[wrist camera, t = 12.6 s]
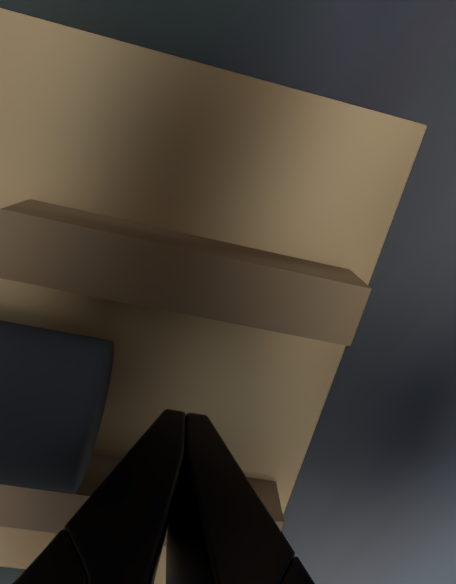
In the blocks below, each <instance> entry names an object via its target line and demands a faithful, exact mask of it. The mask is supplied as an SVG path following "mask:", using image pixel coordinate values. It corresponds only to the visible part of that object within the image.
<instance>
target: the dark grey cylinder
mask: <svg viewBox="0 0 456 584" xmlns="http://www.w3.org/2000/svg"><path fill="white" fill-rule="evenodd" d="M113 357H114V344H113V341H111V340H106V339H100V338H95V337H89V336H84V335H78V334H73V333H67V332H62V331H56V330H51V329H45V328H40V327H34V326H29V325H23V324H18V323H12V322H7V321H1V320H0V483H1V484H8V485H16V486H23V487H31V488H38V489H46V490H53V491H61V492H68V493H76V492H77V490H78V489H79V487H80V485H81V483H82V481H83V478H84V476H85V473H86V470H87V468H88V465H89V462H90V459H91V456H92V453H93V449H94V446H95V443H96V439H97V436H98V432H99V428H100V424H101V420H102V416H103V412H104V408H105V404H106V399H107V394H108V389H109V384H110V378H111V372H112V366H113Z"/></svg>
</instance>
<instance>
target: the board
mask: <svg viewBox="0 0 456 584" xmlns="http://www.w3.org/2000/svg"><path fill="white" fill-rule="evenodd" d="M426 128H427V125H424V124H420V123H417V122H413V121H410V120H406V119H402V118H399V117H395V116H391V115H388V114H384V113H380V112H377V111H373V110H370V109H366V108H362V107H359V106H355V105H351V104H348V103H344V102H341V101H337V100H333V99H330V98H326V97H322V96H319V95H315V94H311V93H308V92H304V91H301V90H297V89H293V88H290V87H286V86H282V85H279V84H275V83H271V82H268V81H264V80H261V79H257V78H253V77H250V76H246V75H242V74H239V73H235V72H232V71H228V70H224V69H221V68H217V67H213V66H210V65H206V64H202V63H199V62H195V61H192V60H188V59H184V58H181V57H177V56H173V55H170V54H166V53H162V52H159V51H155V50H152V49H148V48H144V47H141V46H137V45H133V44H130V43H126V42H122V41H119V40H115V39H112V38H108V37H104V36H101V35H97V34H93V33H90V32H86V31H83V30H79V29H75V28H72V27H68V26H64V25H61V24H57V23H53V22H50V21H46V20H43V19H39V18H35V17H32V16H28V15H24V14H21V13H17V12H13V11H10V10H6V9H3V8H0V320H1V321H7V322H12V323H18V324H23V325H29V326H34V327H40V328H45V329H51V330H56V331H62V332H67V333H73V334H78V335H84V336H89V337H95V338H100V339H106V340H111V341H113V344H114V357H113V366H112V372H111V378H110V384H109V389H108V394H107V399H106V404H105V408H104V412H103V416H102V420H101V424H100V428H99V432H98V436H97V439H96V443H95V446H94V449H93V453H92V456H91V459H90V462H89V465H88V468H87V470H86V473H85V476H84V478H83V481H82V483H81V485H80V487H79V489H78V490H77V492H76V493H68V492H61V491H53V490H46V489H38V488H31V487H23V486H16V485H8V484H1V483H0V567H9V568H19V569H27V568H28V566H29V565H30V564H31V563H32V562H33V561H34V560H35V559H36V558H37V557H38V556H39V554H40V553H41V552H42V551H43V550H44V549H45V548H46V547H47V545H48V544H49V543H50V542H51V541H52V540H53V538H54V537H55V536H56V535H57V534H58V533H59V531H61V530H64V526H65V525H66V524H67V522H68V521H69V520H70V519H71V518H72V517H73V515H74V514H75V513H76V512H77V511H78V510H79V509H80V507H81V506H82V505H83V504H84V503H85V502H86V500H87V499H88V498H89V497H90V496H91V495H92V493H93V492H94V491H95V490H96V489H97V488H98V486H99V485H100V484H101V483H102V482H103V481H104V479H105V478H106V477H107V476H108V475H109V474H110V472H111V471H112V470H113V469H114V468H115V467H116V465H117V464H118V463H119V462H120V461H121V460H122V458H123V457H124V456H125V455H126V454H127V453H128V451H129V450H130V449H131V448H132V447H133V446H134V444H135V443H136V442H137V441H138V440H139V439H140V438H141V436H142V435H143V434H144V433H145V432H146V431H147V429H148V428H149V427H150V426H151V425H152V424H153V422H154V421H155V420H156V419H157V418H158V417H159V415H160V414H161V413H162V412H163V411H164V410H165V409H171V410H178V411H183V412H184V413H185V414H187V413H197V414H203V415H207V416H208V417H209V419H210V420H211V422H212V424H213V425H214V427H215V428H216V430H217V431H218V433H219V435H220V436H221V438H222V439H223V441H224V442H225V444H226V446H227V447H228V449H229V450H230V452H231V453H232V455H233V457H234V458H235V460H236V461H237V463H238V464H239V466H240V468H241V469H242V471H243V472H244V474H245V475H246V477H247V479H248V480H249V482H250V483H251V485H252V486H253V488H254V489H255V491H256V493H257V494H258V496H259V497H260V499H261V500H262V502H263V504H264V505H265V507H266V508H267V510H268V511H269V513H270V515H271V516H272V518H273V519H274V521H275V522H276V524H277V526H278V527H279V529H280V530H282V527H283V525H284V518H283V514H284V511H285V508H286V506H287V503H288V500H289V498H290V495H291V492H292V489H293V487H294V484H295V481H296V479H297V476H298V473H299V471H300V468H301V465H302V462H303V460H304V457H305V454H306V452H307V449H308V446H309V444H310V441H311V438H312V435H313V433H314V430H315V427H316V425H317V422H318V419H319V417H320V414H321V411H322V408H323V406H324V403H325V400H326V398H327V395H328V392H329V390H330V387H331V384H332V381H333V379H334V376H335V373H336V371H337V368H338V365H339V363H340V360H341V357H342V354H343V352H344V349H345V346H351V343H352V341H353V338H354V335H355V333H356V330H357V327H358V325H359V322H360V319H361V317H362V314H363V311H364V309H365V306H366V303H367V301H368V298H369V295H370V293H371V290H372V289H371V288H370V287H369V286H368V284H369V282H370V279H371V276H372V273H373V271H374V268H375V265H376V263H377V260H378V257H379V255H380V252H381V249H382V246H383V244H384V241H385V238H386V236H387V233H388V230H389V228H390V225H391V222H392V219H393V217H394V214H395V211H396V209H397V206H398V203H399V201H400V198H401V195H402V192H403V190H404V187H405V184H406V182H407V179H408V176H409V174H410V171H411V168H412V165H413V163H414V160H415V157H416V155H417V152H418V149H419V147H420V144H421V141H422V138H423V136H424V133H425V130H426ZM166 540H167V532H166V536H165V540H164V545H163V549H162V553H161V557H160V561H159V565H158V569H157V573H156V577H155V581H154V583H156V584H166Z"/></svg>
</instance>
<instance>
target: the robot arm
mask: <svg viewBox="0 0 456 584" xmlns="http://www.w3.org/2000/svg"><path fill="white" fill-rule="evenodd" d="M166 532H167V540H166V584H315V583H314V582H313V580H312V579H311V577H310V575H309V574H308V572H307V571H306V569H305V568H304V566H303V564H302V563H301V561H300V560H299V558H298V557H294V556H295V552H294V551H293V549H292V548H291V546H290V544H289V543H288V541H287V540H286V538H285V537H284V535H283V533H282V532H281V530H280V529H279V527H278V526H277V524H276V522H275V521H274V519H273V518H272V516H271V515H270V513H269V511H268V510H267V508H266V507H265V505H264V504H263V502H262V500H261V499H260V497H259V496H258V494H257V493H256V491H255V489H254V488H253V486H252V485H251V483H250V482H249V480H248V479H247V477H246V475H245V474H244V472H243V471H242V469H241V468H240V466H239V464H238V463H237V461H236V460H235V458H234V457H233V455H232V453H231V452H230V450H229V449H228V447H227V446H226V444H225V442H224V441H223V439H222V438H221V436H220V435H219V433H218V431H217V430H216V428H215V427H214V425H213V424H212V422H211V420H210V419H209V417H208V416H207V415H203V414H197V413H187V414H185V413H184V412H183V411H178V410H171V409H165V410H164V411H163V412H162V413H161V414H160V415H159V417H158V418H157V419H156V420H155V421H154V422H153V424H152V425H151V426H150V427H149V428H148V429H147V431H146V432H145V433H144V434H143V435H142V436H141V438H140V439H139V440H138V441H137V442H136V443H135V444H134V446H133V447H132V448H131V449H130V450H129V451H128V453H127V454H126V455H125V456H124V457H123V458H122V460H121V461H120V462H119V463H118V464H117V465H116V467H115V468H114V469H113V470H112V471H111V472H110V474H109V475H108V476H107V477H106V478H105V479H104V481H103V482H102V483H101V484H100V485H99V486H98V488H97V489H96V490H95V491H94V492H93V493H92V495H91V496H90V497H89V498H88V499H87V500H86V502H85V503H84V504H83V505H82V506H81V507H80V509H79V510H78V511H77V512H76V513H75V514H74V515H73V517H72V518H71V519H70V520H69V521H68V522H67V524H66V525H65V526H64V530H61V531H59V533H58V534H57V535H56V536H55V537H54V538H53V540H52V541H51V542H50V543H49V544H48V545H47V547H46V548H45V549H44V550H43V551H42V552H41V553H40V554H39V556H38V557H37V558H36V559H35V560H34V561H33V562H32V563H31V564H30V565H29V566H28V568H27V569H26V570H25V571H24V572H23V573H22V574H21V575H20V576H19V577H18V579H17V580H16V581H15V582H14V583H13V584H154V581H155V577H156V573H157V569H158V565H159V561H160V557H161V553H162V549H163V545H164V540H165V536H166Z"/></svg>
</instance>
